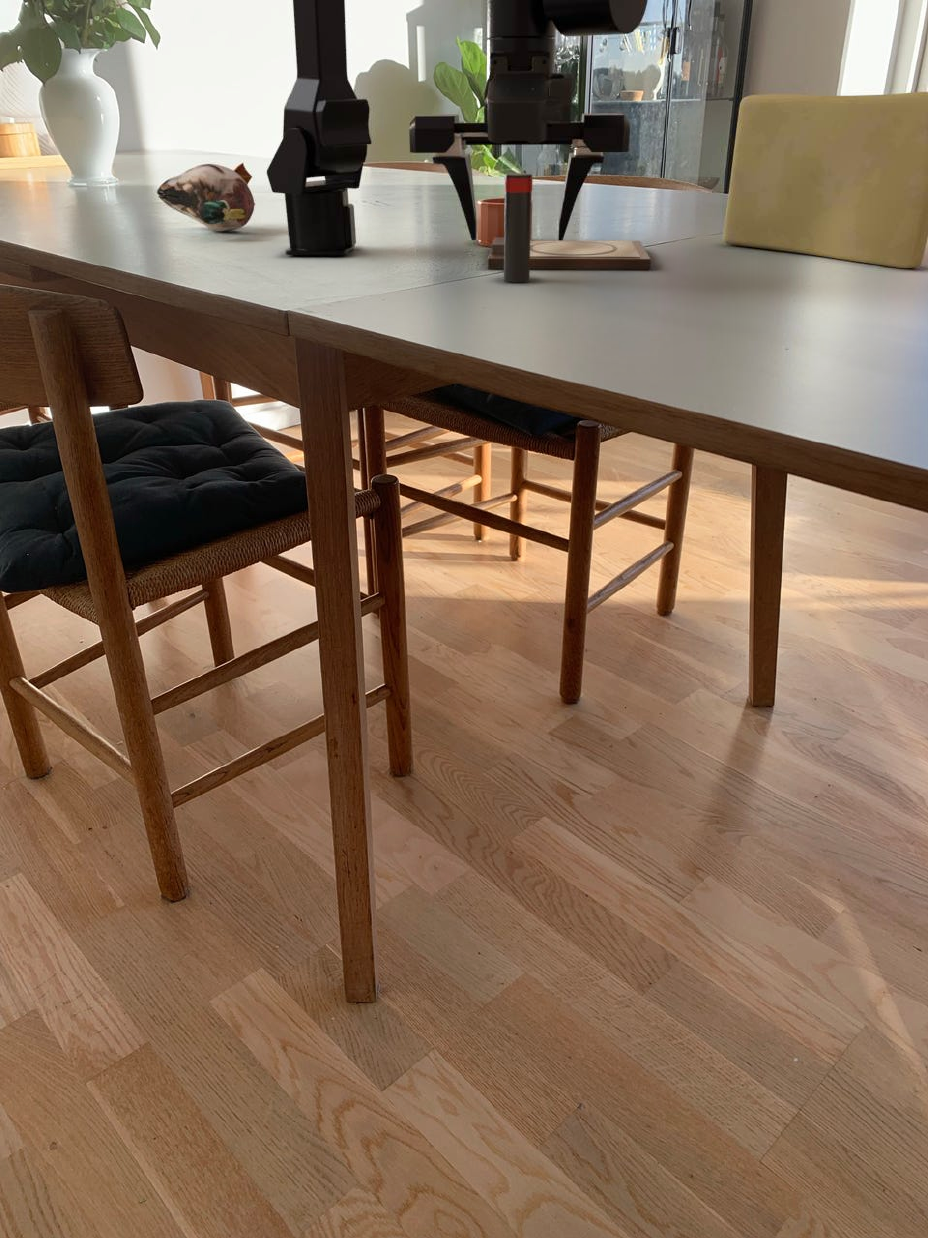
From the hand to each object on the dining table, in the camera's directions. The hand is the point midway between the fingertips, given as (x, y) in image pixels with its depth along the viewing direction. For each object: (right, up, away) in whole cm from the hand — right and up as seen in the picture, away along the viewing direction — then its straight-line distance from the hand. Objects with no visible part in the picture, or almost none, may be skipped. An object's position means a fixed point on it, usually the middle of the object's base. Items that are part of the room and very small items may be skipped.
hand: (517, 239), depth 84 cm
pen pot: (0, +9, +22) cm, 23 cm away
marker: (0, -3, +2) cm, 4 cm away
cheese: (+34, +4, +13) cm, 36 cm away
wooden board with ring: (+6, +3, +12) cm, 13 cm away
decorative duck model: (-38, +14, +31) cm, 51 cm away
